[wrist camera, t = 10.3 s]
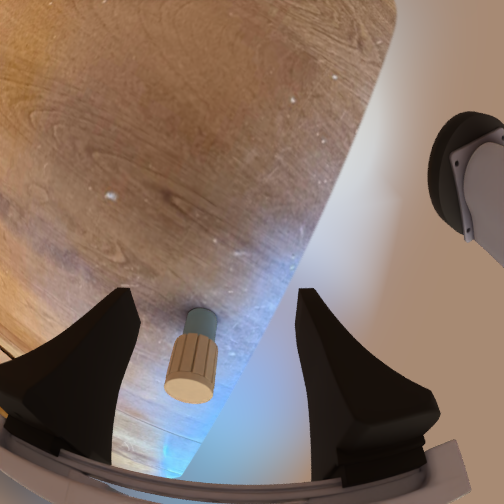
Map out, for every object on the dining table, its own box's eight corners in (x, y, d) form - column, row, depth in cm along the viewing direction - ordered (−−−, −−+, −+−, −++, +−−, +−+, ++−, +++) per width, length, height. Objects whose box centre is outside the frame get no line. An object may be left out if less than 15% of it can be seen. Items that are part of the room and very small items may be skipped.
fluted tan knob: (226, 353, 23) (222, 398, 19) (193, 364, 24) (185, 407, 20) (199, 327, 21) (191, 374, 17) (166, 340, 22) (154, 384, 18)
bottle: (223, 323, 26) (218, 371, 21) (199, 333, 26) (191, 379, 22) (205, 303, 24) (196, 351, 20) (181, 314, 25) (168, 361, 20)
